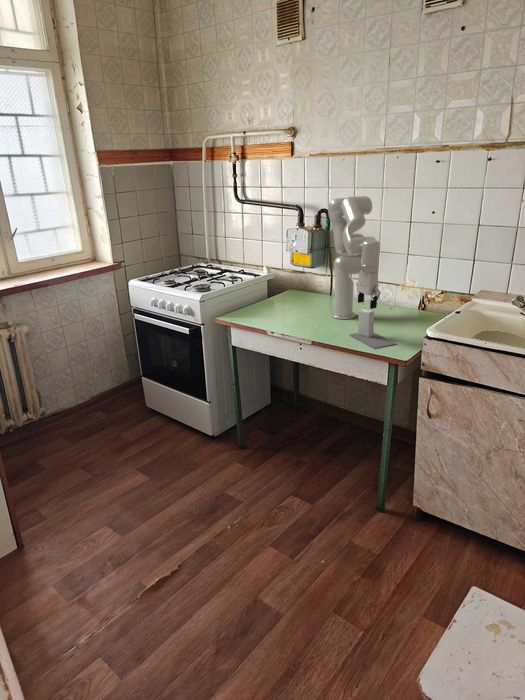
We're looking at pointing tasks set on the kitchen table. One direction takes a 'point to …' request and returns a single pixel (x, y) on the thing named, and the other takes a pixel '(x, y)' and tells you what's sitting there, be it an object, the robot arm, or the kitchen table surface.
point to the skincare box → (366, 323)
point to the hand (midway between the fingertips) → (366, 305)
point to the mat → (374, 340)
